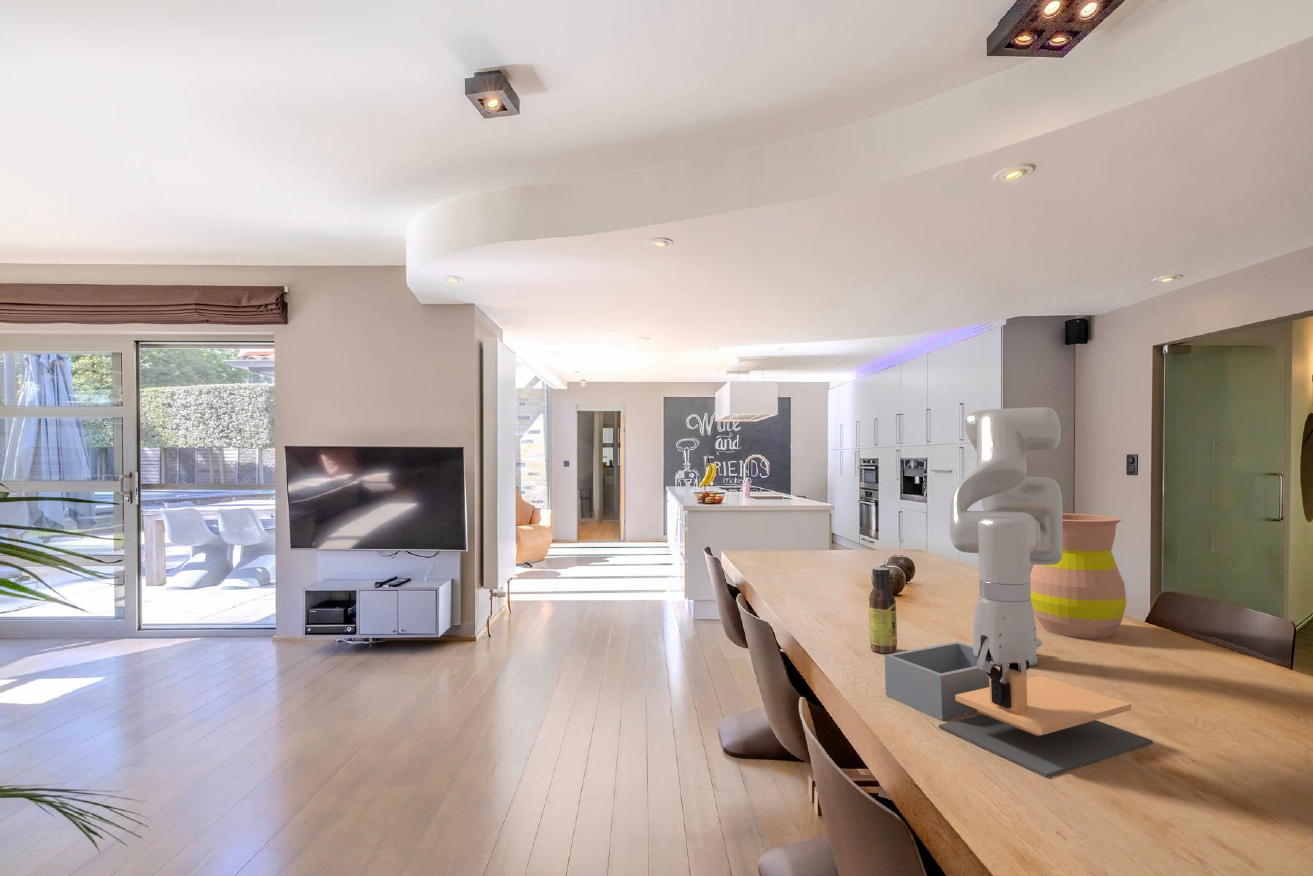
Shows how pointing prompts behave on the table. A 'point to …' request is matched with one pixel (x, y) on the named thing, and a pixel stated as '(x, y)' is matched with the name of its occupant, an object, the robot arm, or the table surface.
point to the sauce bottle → (882, 613)
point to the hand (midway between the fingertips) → (1008, 702)
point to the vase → (1081, 581)
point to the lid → (1043, 704)
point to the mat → (1046, 743)
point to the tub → (934, 678)
